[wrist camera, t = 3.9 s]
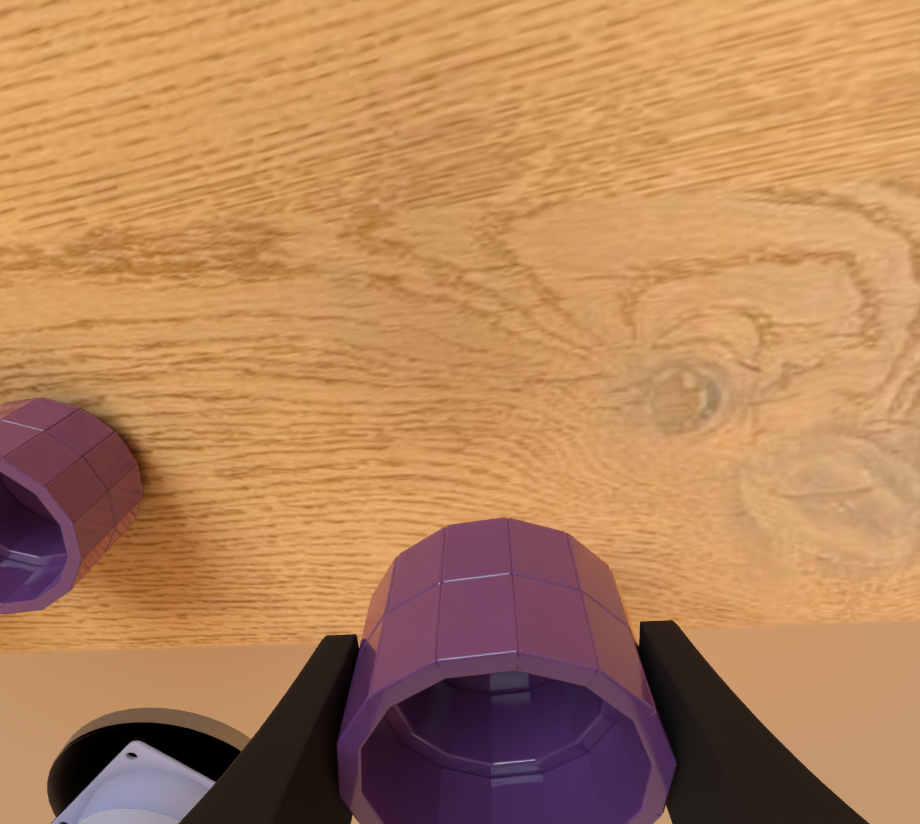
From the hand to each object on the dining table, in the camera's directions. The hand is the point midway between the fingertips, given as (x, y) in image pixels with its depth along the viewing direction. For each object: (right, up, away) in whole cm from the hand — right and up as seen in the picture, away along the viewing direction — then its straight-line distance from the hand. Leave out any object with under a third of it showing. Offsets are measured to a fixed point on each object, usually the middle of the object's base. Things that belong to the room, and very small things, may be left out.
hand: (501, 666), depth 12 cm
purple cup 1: (-14, +3, +8) cm, 17 cm away
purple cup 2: (0, +1, +1) cm, 2 cm away
